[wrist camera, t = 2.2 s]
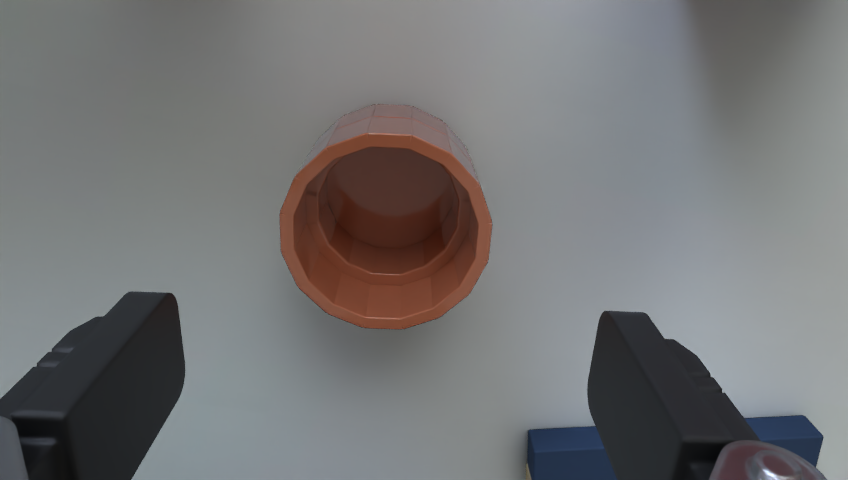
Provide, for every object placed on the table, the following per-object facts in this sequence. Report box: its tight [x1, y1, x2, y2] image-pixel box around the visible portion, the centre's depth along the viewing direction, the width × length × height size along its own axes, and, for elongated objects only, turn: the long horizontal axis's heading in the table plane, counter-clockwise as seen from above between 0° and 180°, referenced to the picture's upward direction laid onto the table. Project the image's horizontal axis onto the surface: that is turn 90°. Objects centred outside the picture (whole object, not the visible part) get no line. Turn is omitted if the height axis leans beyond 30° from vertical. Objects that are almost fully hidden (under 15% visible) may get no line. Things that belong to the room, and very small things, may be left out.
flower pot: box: [279, 104, 492, 329], centre depth 20 cm, size 6×6×5 cm
